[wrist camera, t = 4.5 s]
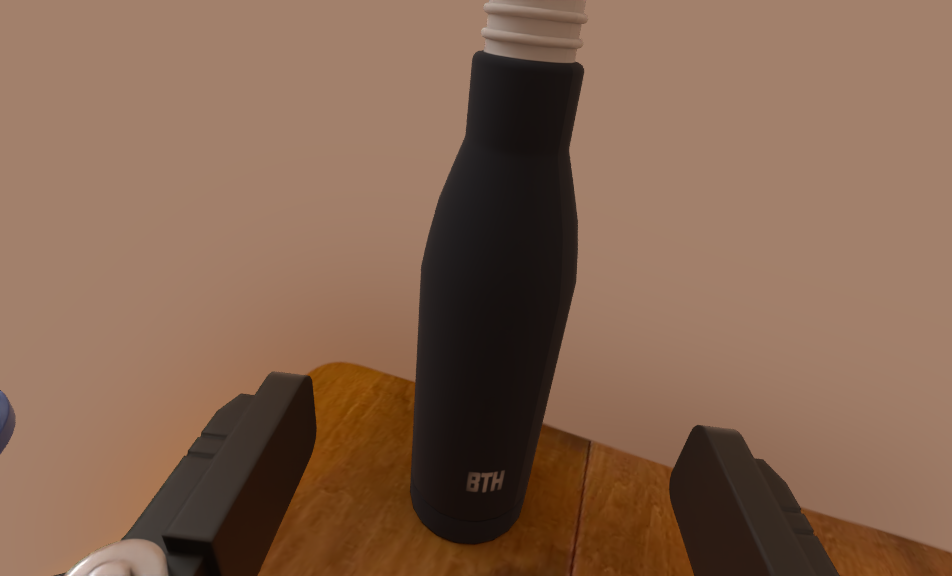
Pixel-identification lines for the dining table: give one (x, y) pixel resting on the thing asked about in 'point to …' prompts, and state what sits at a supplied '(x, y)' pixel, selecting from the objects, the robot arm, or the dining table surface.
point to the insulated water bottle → (498, 275)
